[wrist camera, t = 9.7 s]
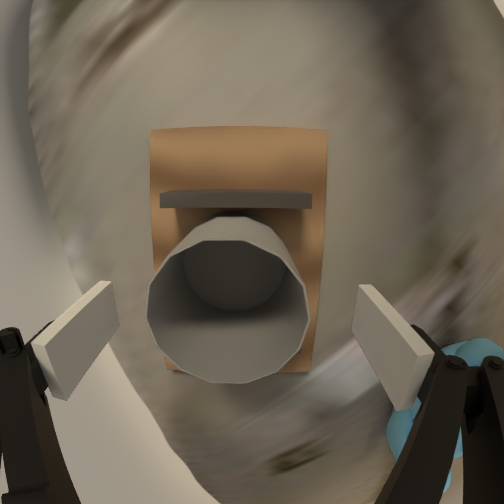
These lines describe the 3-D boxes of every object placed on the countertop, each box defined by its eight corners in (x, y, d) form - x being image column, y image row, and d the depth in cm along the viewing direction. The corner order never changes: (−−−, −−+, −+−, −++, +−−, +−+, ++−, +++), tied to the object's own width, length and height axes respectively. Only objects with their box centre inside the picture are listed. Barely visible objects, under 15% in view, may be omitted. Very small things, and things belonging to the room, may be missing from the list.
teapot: (349, 411, 30) (379, 490, 18) (458, 297, 27) (529, 348, 15) (414, 441, 33) (442, 496, 21) (498, 354, 30) (545, 397, 18)
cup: (260, 192, 23) (268, 205, 13) (301, 283, 24) (332, 348, 15) (165, 239, 23) (115, 282, 14) (212, 322, 25) (195, 399, 16)
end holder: (155, 132, 22) (132, 122, 17) (323, 132, 22) (342, 121, 17) (169, 362, 28) (157, 394, 23) (307, 364, 28) (317, 397, 23)
